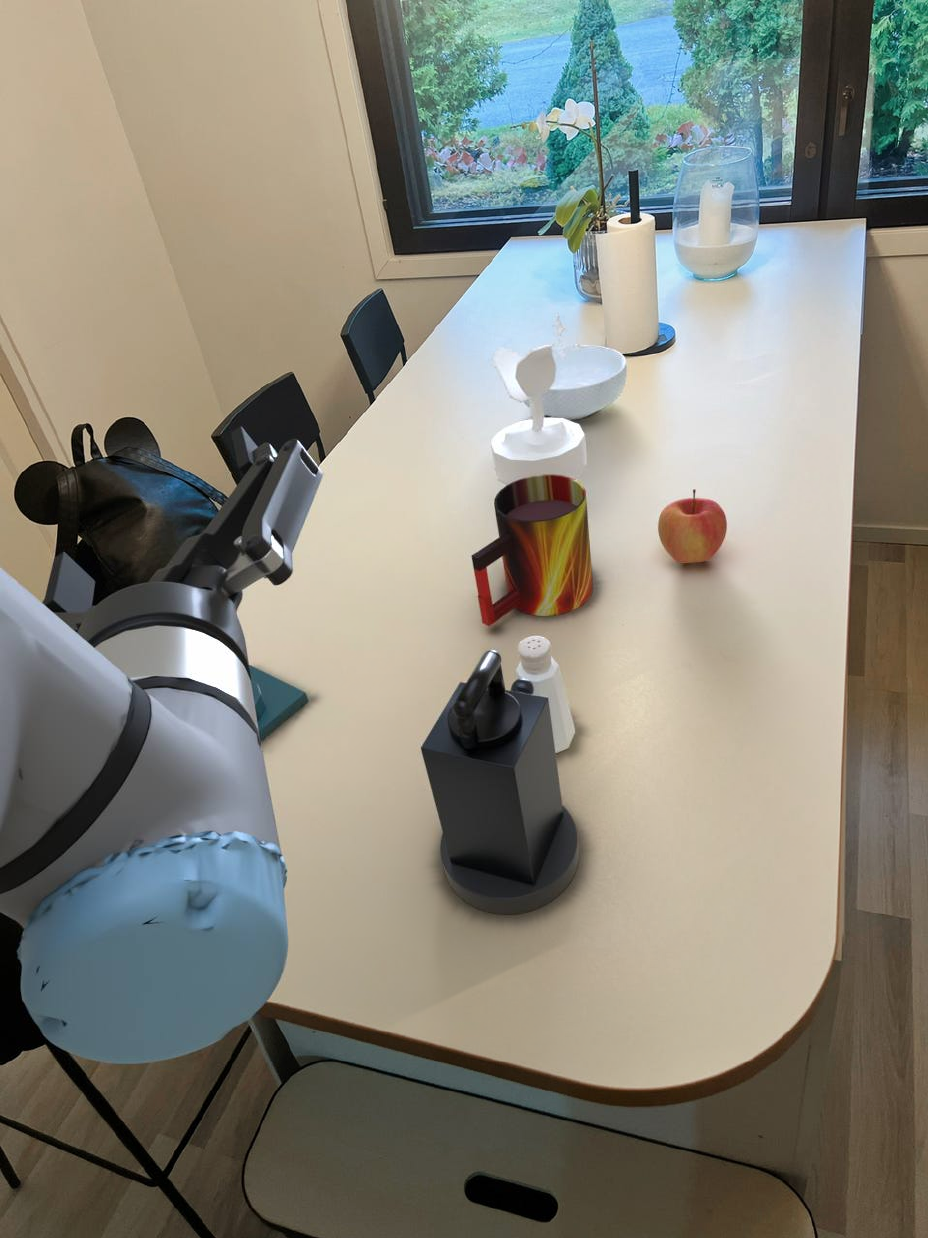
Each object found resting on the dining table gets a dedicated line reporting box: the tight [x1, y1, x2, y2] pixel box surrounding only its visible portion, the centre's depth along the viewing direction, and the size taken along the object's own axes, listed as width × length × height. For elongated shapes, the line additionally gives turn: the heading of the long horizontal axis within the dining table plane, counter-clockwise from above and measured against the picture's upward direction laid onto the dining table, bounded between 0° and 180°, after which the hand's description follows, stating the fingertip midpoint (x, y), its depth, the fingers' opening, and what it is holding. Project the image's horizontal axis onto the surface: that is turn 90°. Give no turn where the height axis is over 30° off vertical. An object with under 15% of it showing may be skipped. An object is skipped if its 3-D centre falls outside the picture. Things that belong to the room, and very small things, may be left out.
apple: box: [657, 488, 728, 564], centre depth 96 cm, size 7×7×8 cm
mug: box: [471, 475, 594, 628], centre depth 93 cm, size 10×14×12 cm
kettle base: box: [439, 804, 580, 915], centre depth 70 cm, size 11×11×2 cm
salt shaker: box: [515, 635, 577, 754], centre depth 77 cm, size 5×5×11 cm
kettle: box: [420, 649, 563, 885], centre depth 65 cm, size 11×7×17 cm, turn 157°
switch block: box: [249, 664, 309, 742], centre depth 88 cm, size 12×9×3 cm
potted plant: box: [490, 313, 588, 486], centre depth 106 cm, size 13×12×25 cm
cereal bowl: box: [523, 345, 628, 421], centre depth 132 cm, size 17×17×7 cm
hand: (161, 508), depth 55 cm, fingers open, 13 cm apart
